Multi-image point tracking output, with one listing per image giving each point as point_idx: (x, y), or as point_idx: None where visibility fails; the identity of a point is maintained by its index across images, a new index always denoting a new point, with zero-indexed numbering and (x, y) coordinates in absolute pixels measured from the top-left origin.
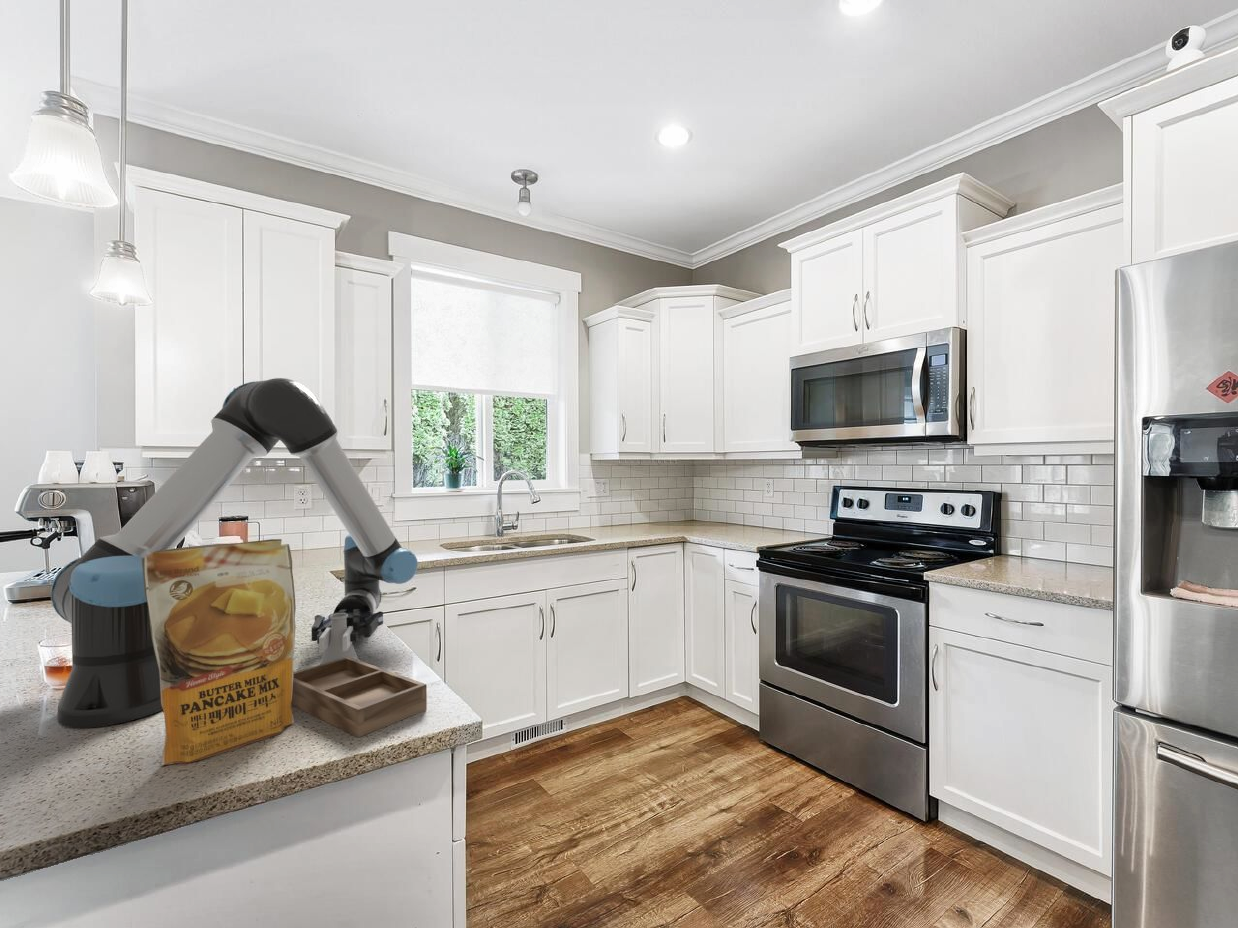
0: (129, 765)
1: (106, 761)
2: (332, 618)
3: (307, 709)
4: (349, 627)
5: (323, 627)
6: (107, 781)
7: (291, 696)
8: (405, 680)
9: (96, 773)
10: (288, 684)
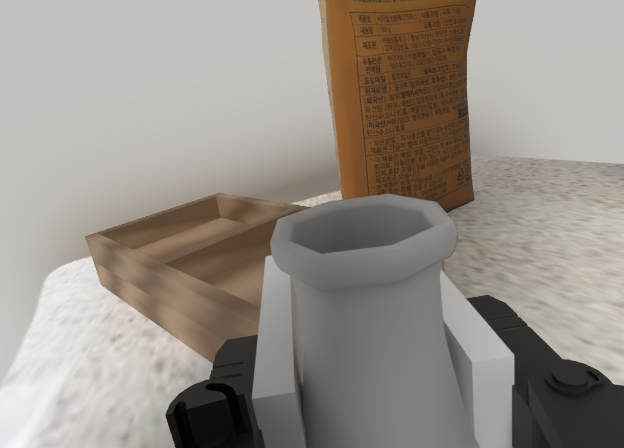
0: (514, 186)
1: (562, 184)
2: (385, 202)
3: None
4: (280, 363)
5: (570, 368)
6: (502, 176)
7: (341, 190)
8: (117, 243)
9: (538, 178)
10: (343, 165)
